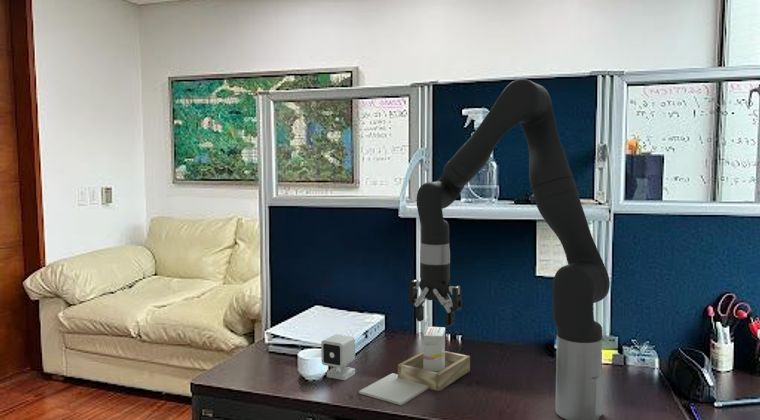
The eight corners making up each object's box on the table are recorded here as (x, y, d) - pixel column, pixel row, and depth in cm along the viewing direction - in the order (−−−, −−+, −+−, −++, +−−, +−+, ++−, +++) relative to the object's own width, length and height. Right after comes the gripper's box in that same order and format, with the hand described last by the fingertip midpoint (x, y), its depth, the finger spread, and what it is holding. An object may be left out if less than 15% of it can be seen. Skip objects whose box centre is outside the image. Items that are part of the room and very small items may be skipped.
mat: (432, 385, 144) (432, 383, 144) (401, 405, 133) (401, 402, 133) (392, 375, 151) (392, 373, 151) (359, 393, 140) (359, 390, 140)
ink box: (442, 382, 146) (442, 324, 145) (422, 381, 147) (422, 323, 146) (445, 370, 154) (445, 315, 153) (426, 369, 155) (426, 314, 154)
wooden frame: (469, 371, 154) (469, 356, 153) (439, 391, 141) (439, 374, 140) (430, 362, 161) (430, 347, 160) (397, 380, 148) (397, 364, 147)
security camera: (321, 378, 149) (321, 340, 148) (336, 369, 155) (335, 332, 154) (342, 382, 146) (342, 343, 145) (356, 373, 152) (356, 336, 152)
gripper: (467, 261, 147) (466, 324, 148) (418, 255, 155) (418, 315, 157) (452, 266, 141) (451, 332, 142) (403, 259, 149) (402, 322, 151)
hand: (434, 323), depth 150 cm, fingers open, 8 cm apart
